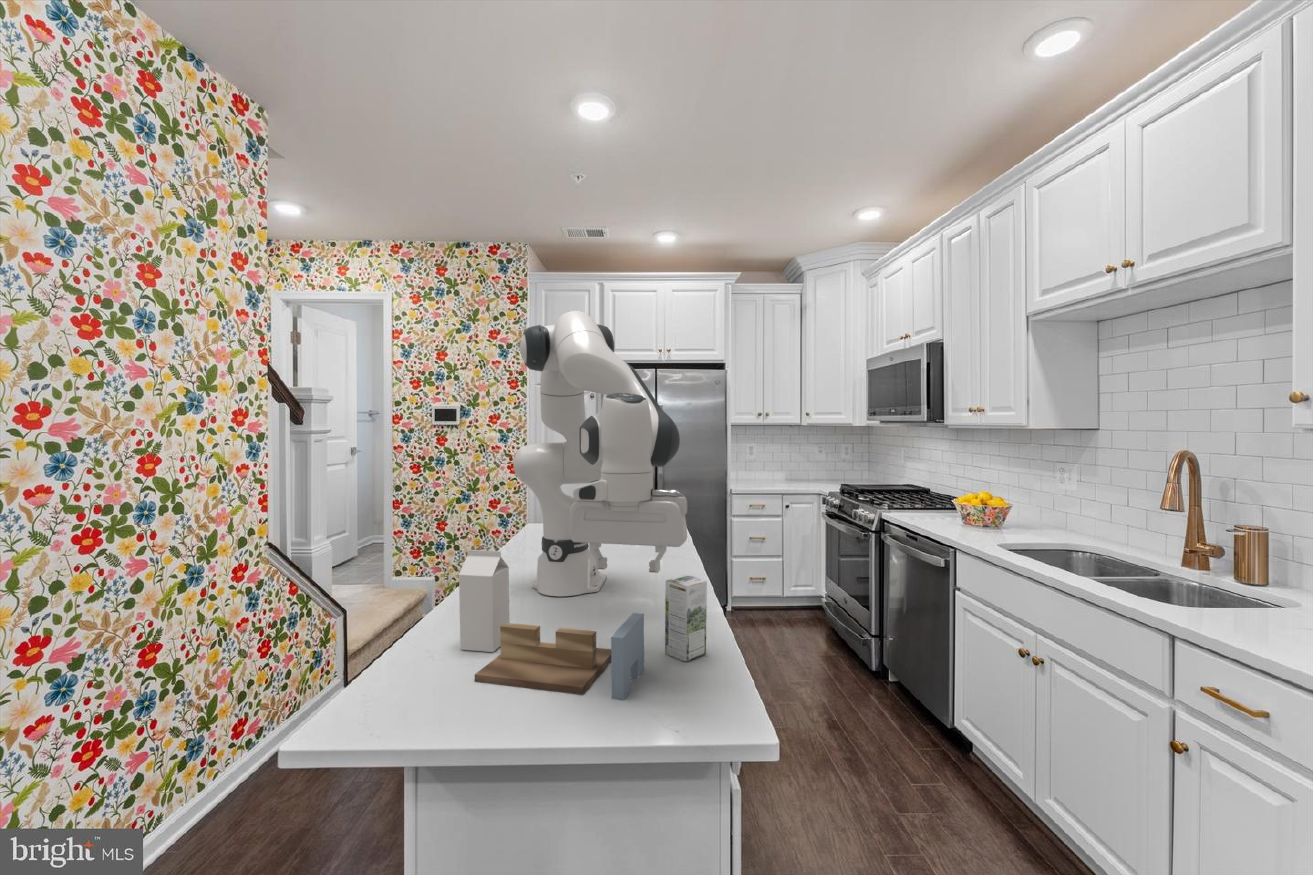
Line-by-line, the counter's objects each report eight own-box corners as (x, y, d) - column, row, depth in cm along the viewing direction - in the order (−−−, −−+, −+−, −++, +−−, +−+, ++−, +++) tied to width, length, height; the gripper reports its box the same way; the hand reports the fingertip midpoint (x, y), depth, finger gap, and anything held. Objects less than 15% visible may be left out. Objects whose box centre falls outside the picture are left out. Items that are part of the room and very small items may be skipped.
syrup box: (684, 645, 115) (684, 573, 114) (707, 654, 111) (707, 579, 110) (664, 654, 111) (664, 579, 110) (687, 663, 107) (686, 585, 106)
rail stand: (519, 645, 115) (519, 610, 115) (614, 655, 110) (614, 618, 110) (474, 681, 100) (473, 639, 100) (582, 694, 95) (582, 651, 95)
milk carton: (493, 653, 112) (491, 555, 112) (460, 650, 114) (458, 554, 113) (510, 639, 119) (508, 547, 118) (478, 636, 120) (476, 546, 120)
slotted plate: (633, 667, 105) (633, 612, 105) (644, 668, 105) (643, 613, 104) (611, 698, 94) (611, 636, 93) (623, 699, 93) (622, 637, 93)
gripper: (691, 488, 98) (691, 569, 99) (578, 485, 104) (579, 562, 104) (683, 492, 92) (683, 578, 93) (564, 489, 98) (565, 571, 98)
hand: (627, 570), depth 98 cm, fingers open, 8 cm apart
